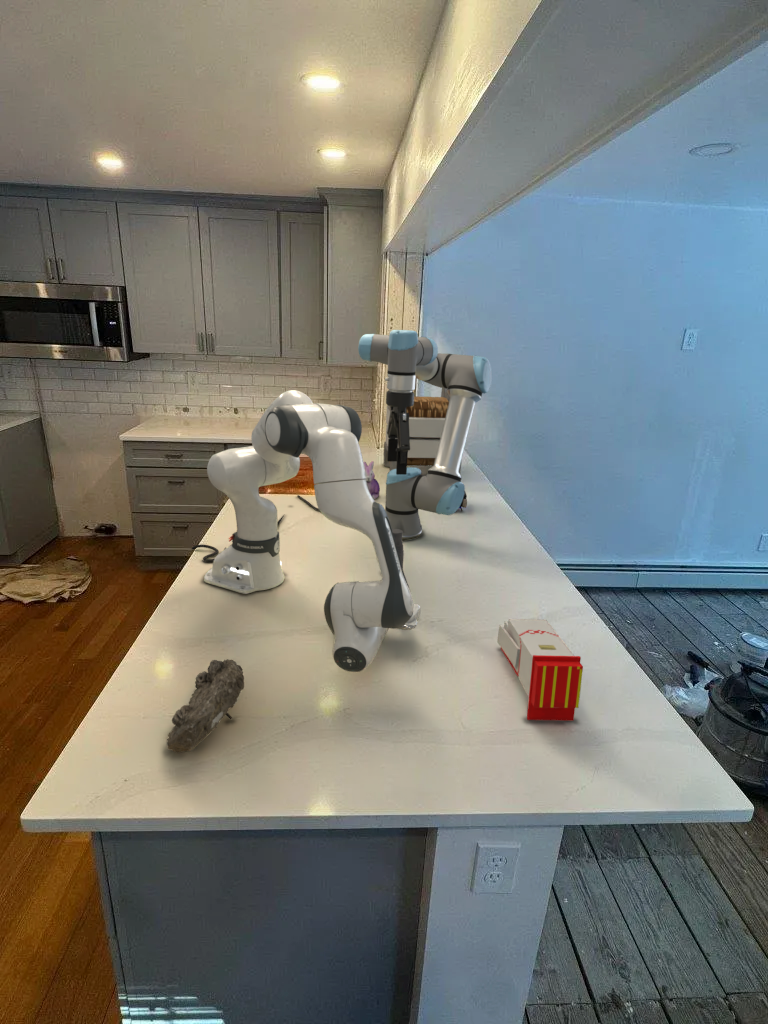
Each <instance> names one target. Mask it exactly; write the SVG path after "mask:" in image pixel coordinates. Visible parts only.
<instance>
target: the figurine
mask: <svg viewBox="0 0 768 1024" xmlns="http://www.w3.org/2000/svg"><path fill="white" fill-rule="evenodd" d="M363 462H364V467H365V474H366V479H364V480H366V482H367V487H368V490H369V492H370V494H371V496H372V498H373V499H374V500H375V499H377V498H379V496H380V491H381V487H380V484H379V482H378V480H377V479H376V478H375V477H376V475H375V473H374V470H373V469H374V465H375V462H374V461H373V460H372V461H371V462H370V463H369V464H367V462H366V461H363Z"/></svg>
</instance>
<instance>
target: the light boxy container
mask: <svg viewBox="0 0 768 1024" xmlns="http://www.w3.org/2000/svg"><path fill="white" fill-rule="evenodd" d="M447 390H448V389H446V388H441V392H440V393H441V394H440V396H415V395H414V405H413V406H411V407H406V413H409V436H410V450H408V457H407V467H409V466H411V467H417V466H418V467H433V466H434V462H435V458H436V454H437V450H438V446H439V442H440V438H441V434H442V429H443V425H444V421H445V417H446V413H447V409H448V405H449V401H450V396H449V394H448V393H447ZM385 414H386V415H385V423H386V428H385V438H384V442H383V466H384V467H388V468H389V472H390V471H391V470H393V469H396V466H397V461H387V458H388V439H390V438H388V435H387V430H388V423H389V417H390V406H388V405H387V404H386V413H385ZM395 439H397V438H395ZM462 459H463V458H462ZM462 459H461V464H460V468H459V474H460V475H461V472H462V461H463V460H462Z"/></svg>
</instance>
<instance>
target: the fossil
mask: <svg viewBox="0 0 768 1024" xmlns="http://www.w3.org/2000/svg"><path fill="white" fill-rule="evenodd" d="M243 670H244V669H243V667H242V665H240V664H237V662H236V661H235V660H234V659H232V658H231V659H227V658H226V659H224V660H223V661H222V660H217V659H212V660H211V661H210V663H209V665H208V666H207V671H201V672H199V673H198V674H197V675H196V676H195V680H194V684H195V685H194V687H195V689H194V690H193V693H192V694H191V697H190V698H189V700H188V704H184V705H182V706H181V707H180V709H177V710H176V711H175V713H174V715H173V716H172V718H171V723H172V724H173V727H172V730H171V731H170V732H168V734H167V738H166V741H167V742H166V745H167V749H168V750H169V751H173V752H174V753H176V754H178V753H182V752H188V751H189V752H192V751H193V750H195V748H196V747H197V746H199V744H200V743H201V742H203V741H204V740H205V739H206V738H207V737H208V736H209V735H210V734H211V733H212V732H214V730H215V729H217V727H218V726H219V724H220V722H221V721H222V720H223V719H224V718H225V716H226V717H227V719H229V720H233V717H232V715H230V714H229V710H230V709H231V708H234V706H235V704H236V703H237V702H238V699H239V697H240V695H241V693H242V691H243V690H245V689H244V688H245V675H244V671H243Z"/></svg>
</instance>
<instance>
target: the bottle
mask: <svg viewBox="0 0 768 1024" xmlns="http://www.w3.org/2000/svg"><path fill="white" fill-rule="evenodd" d="M392 532H393V535H394V539H395V542H396V546H397V550H398V553H399V557H400V561H401V564H402V568H403V569H404V558H405V557H404V556H405V553H404V552H405V551H404V542H403V540H402V534H403V531H402V530H400V529H392Z"/></svg>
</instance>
